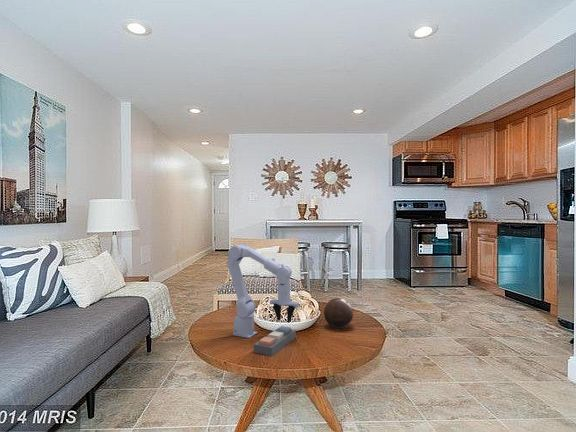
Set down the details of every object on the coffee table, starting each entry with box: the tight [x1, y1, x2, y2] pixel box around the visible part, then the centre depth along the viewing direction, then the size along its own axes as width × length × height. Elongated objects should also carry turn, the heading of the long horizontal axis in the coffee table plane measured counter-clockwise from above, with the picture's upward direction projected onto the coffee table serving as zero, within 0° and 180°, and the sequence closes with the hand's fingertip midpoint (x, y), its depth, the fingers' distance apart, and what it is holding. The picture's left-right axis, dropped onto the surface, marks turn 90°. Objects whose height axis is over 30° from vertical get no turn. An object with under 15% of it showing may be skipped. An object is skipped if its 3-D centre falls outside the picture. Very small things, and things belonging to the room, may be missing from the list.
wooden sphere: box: [323, 297, 354, 329], centre depth 180 cm, size 15×15×15 cm
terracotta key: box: [258, 336, 275, 346], centre depth 149 cm, size 5×5×2 cm
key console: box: [253, 329, 297, 357], centre depth 156 cm, size 9×24×4 cm, turn 154°
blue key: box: [276, 325, 292, 334], centre depth 164 cm, size 5×5×2 cm
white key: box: [267, 330, 283, 340], centre depth 156 cm, size 5×5×2 cm
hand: (284, 321), depth 163 cm, fingers open, 5 cm apart
